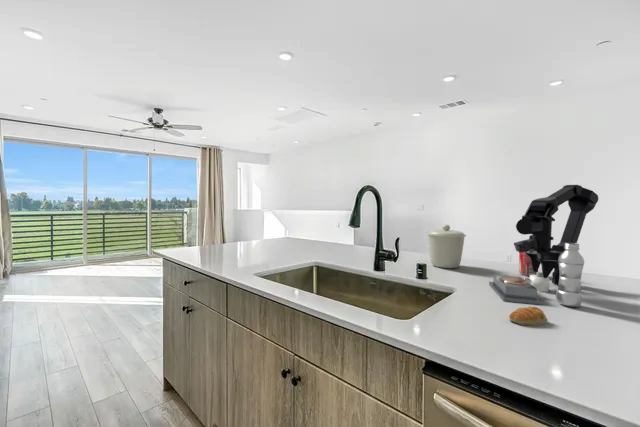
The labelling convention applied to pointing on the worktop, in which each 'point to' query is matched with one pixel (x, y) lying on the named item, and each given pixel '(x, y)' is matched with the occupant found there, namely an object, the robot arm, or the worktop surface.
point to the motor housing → (515, 289)
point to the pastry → (528, 316)
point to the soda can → (525, 265)
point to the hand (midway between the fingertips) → (539, 274)
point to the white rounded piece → (540, 282)
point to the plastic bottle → (570, 276)
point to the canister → (445, 247)
